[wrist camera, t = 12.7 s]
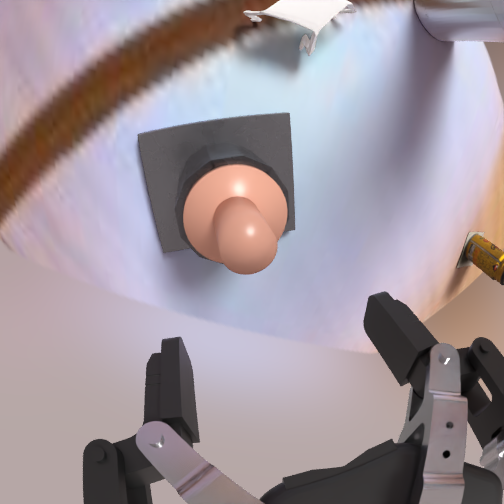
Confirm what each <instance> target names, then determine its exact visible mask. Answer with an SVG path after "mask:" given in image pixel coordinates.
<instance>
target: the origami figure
mask: <svg viewBox="0 0 504 504" xmlns="http://www.w3.org/2000/svg"><path fill="white" fill-rule="evenodd" d="M346 6H348V7H349V8H350V9H344V10H342V9H343V8H344V7H346ZM355 12H356V10H355V8H354V7H353V5H352V3H350V2H349V1H347V0H280V1H278V2H277V3H275V4H274V5H272V6H271V7H270V8H268V9H267V10H264V11H247V10H246V11H244V12H243V13H244V14H245V15H246V16H248V17H251V18H252V19H250V20H251V21H252V22H260V21H261V20H262V19H260V18H258V17H257V16H255V15H268V16H272V17H275V18H279V19H283V20H287V21H290V22H293V23H295V24H298V25H301V26H303V27H305V28H308V29H310V30H313V32H312V36H311V39H310V40H309V38H308V36H307V35H306V34H305V35H304V36H303V37H302V39H301V43H300V46H299V49H300V50H302V49H303V48H304V47H305V48H306V51H307V53H308V55H309V56H310V55H311V54H312V52H313V51H314V50H315V45H316V40H317V35H318V33H319V31H320V29H321V28H323V27H324V26H325V25H326V24H327V23H328V22H329V21H330V20H331V19H333V20H335V19H336V15H337V14H338V13H355Z"/></svg>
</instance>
